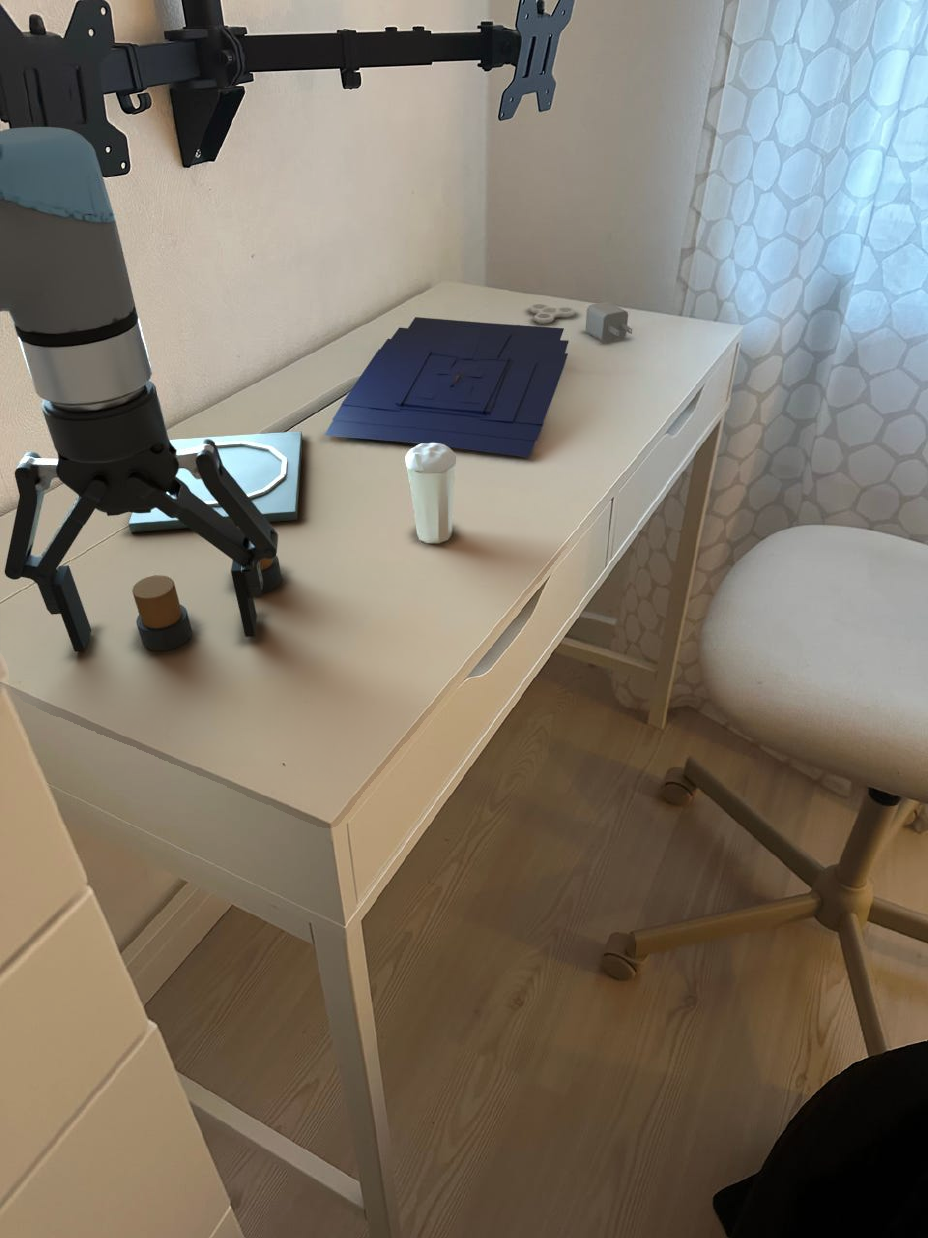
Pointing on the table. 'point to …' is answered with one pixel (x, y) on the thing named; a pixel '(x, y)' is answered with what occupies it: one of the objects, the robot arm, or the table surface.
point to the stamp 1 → (160, 614)
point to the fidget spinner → (550, 312)
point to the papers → (457, 386)
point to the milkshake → (432, 490)
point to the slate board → (243, 477)
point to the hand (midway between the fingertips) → (168, 633)
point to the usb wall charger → (607, 322)
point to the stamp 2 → (270, 573)
